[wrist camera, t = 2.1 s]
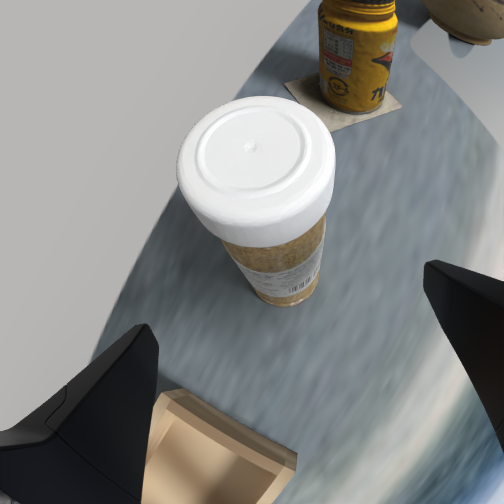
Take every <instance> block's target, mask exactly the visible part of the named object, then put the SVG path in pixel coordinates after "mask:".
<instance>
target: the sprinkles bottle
mask: <svg viewBox="0 0 504 504" xmlns="http://www.w3.org/2000/svg"><path fill="white" fill-rule="evenodd" d="M176 174H177V181H178V184H179V187H180V190H181V192H182V194H183V196H184V198H185V200H186V201H187V203H188V204H189V206H190V208H191V209H192V210H193V212H194V213H195V215H196V216H197V217H198V219H199V220H200V221H201V223H202V224H203V225H204V226H205V227H206V228H207V229H208V230H209V231H210V232H211V233H213V234H214V235H216V236H217V237H219V238H220V239H221V241H222V243H223V244H224V246H225V248H226V250H227V252H228V253H229V254H230V256H231V257H232V259H233V260H234V261H235V263H236V264H237V265H238V267H239V268H240V269H241V271H242V272H243V274H244V275H245V277H246V278H247V279H248V281H249V282H250V283H251V285H252V286H253V288H254V289H255V291H256V293H257V295H258V296H259V297H260V298H261V299H262V300H264V301H265V302H267V303H268V304H270V305H275V306H279V307H289V306H294V305H297V304H299V303H300V302H303V301H304V300H305V299H306V298H308V297H309V296H310V295H311V294H312V293H313V291H314V289H315V287H316V285H317V283H318V277H319V268H320V263H321V257H322V251H323V243H324V236H325V227H326V222H325V211H326V209H327V207H328V205H329V203H330V200H331V197H332V192H333V186H334V175H335V148H334V143H333V140H332V137H331V135H330V133H329V131H328V129H327V127H326V126H325V124H324V123H323V122H322V121H321V119H320V118H319V117H318V116H316V115H315V114H314V113H313V112H312V111H311V110H309V109H307V108H306V107H304V106H302V105H300V104H298V103H296V102H294V101H291V100H288V99H284V98H279V97H271V96H255V97H247V98H242V99H238V100H235V101H232V102H229V103H226V104H224V105H222V106H220V107H218V108H216V109H214V110H213V111H211V112H210V113H208V114H207V115H206V116H204V117H203V118H202V119H200V120H199V121H198V122H197V123H196V124H195V125H194V126H193V127H192V129H191V130H190V131H189V133H188V134H187V136H186V137H185V139H184V141H183V143H182V145H181V147H180V150H179V153H178V157H177V166H176Z"/></svg>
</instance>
